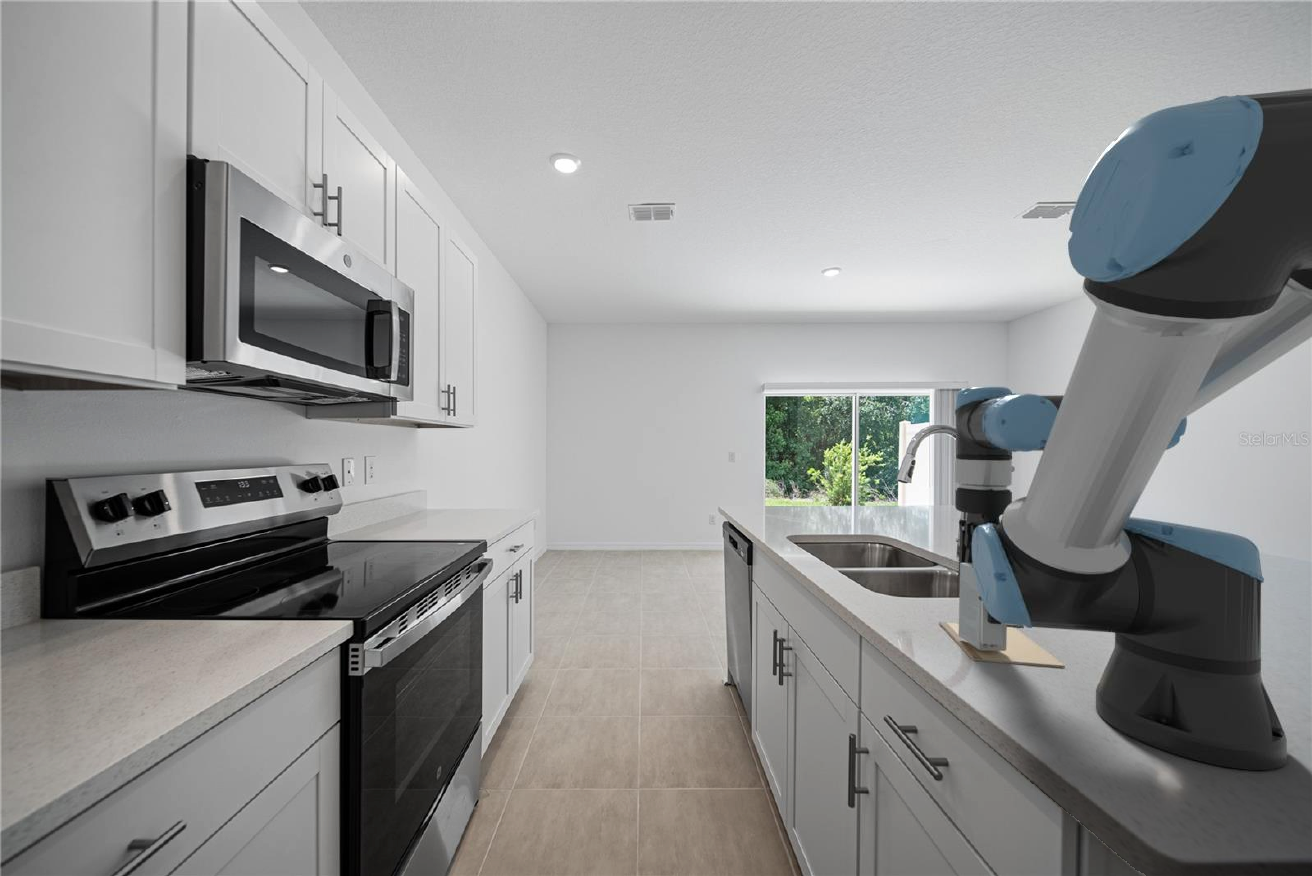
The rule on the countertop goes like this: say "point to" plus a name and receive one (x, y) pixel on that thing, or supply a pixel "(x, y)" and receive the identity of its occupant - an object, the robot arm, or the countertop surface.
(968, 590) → the skincare box
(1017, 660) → the notepad
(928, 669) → the countertop surface
